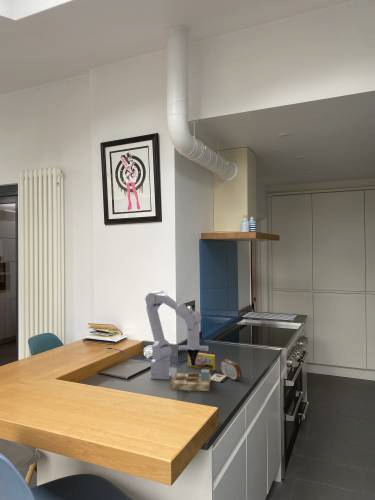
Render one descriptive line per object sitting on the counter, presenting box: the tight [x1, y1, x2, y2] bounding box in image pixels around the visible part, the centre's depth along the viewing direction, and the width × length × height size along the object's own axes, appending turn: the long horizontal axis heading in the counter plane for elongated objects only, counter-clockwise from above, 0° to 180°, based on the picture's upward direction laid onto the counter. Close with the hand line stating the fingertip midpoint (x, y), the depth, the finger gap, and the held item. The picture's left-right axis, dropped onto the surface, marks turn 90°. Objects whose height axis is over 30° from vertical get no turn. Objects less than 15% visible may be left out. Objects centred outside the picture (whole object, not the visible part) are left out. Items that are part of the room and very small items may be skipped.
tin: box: [220, 358, 243, 381], centre depth 191 cm, size 15×3×8 cm, turn 30°
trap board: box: [170, 372, 212, 392], centre depth 181 cm, size 18×14×4 cm
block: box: [200, 368, 211, 381], centre depth 180 cm, size 4×4×4 cm
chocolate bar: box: [210, 368, 229, 384], centre depth 194 cm, size 9×1×18 cm
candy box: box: [187, 352, 216, 371], centre depth 207 cm, size 16×2×8 cm, turn 62°
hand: (193, 365), depth 181 cm, fingers closed
